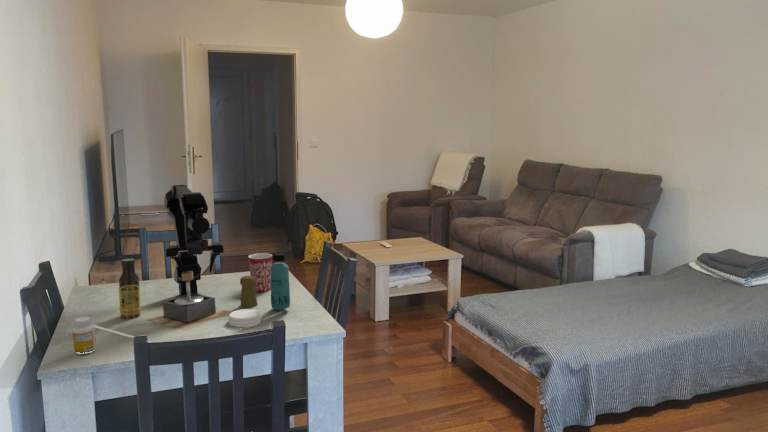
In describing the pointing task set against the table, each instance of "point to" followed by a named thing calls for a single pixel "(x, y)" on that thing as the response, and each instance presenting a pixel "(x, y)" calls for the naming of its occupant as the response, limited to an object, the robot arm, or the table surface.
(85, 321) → the supplement bottle
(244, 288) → the pepper shaker
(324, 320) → the table surface
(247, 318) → the white round container
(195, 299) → the plunger
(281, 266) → the beverage bottle
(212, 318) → the tan square board
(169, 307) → the shallow square tray
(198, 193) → the robot arm
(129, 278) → the sauce bottle
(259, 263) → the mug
